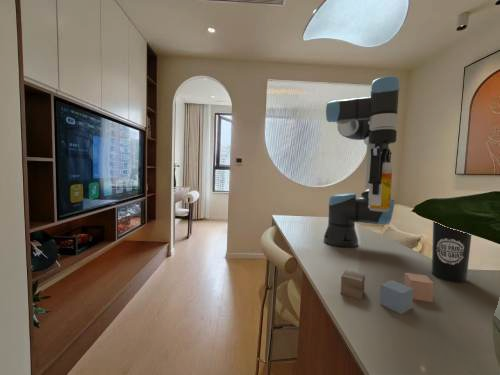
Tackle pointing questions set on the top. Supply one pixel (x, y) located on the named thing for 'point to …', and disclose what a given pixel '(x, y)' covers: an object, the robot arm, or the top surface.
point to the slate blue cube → (396, 296)
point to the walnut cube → (352, 284)
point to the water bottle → (450, 254)
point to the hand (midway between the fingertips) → (378, 204)
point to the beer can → (383, 189)
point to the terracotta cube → (420, 286)
